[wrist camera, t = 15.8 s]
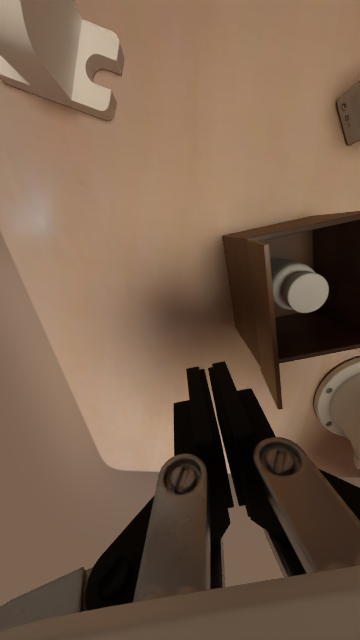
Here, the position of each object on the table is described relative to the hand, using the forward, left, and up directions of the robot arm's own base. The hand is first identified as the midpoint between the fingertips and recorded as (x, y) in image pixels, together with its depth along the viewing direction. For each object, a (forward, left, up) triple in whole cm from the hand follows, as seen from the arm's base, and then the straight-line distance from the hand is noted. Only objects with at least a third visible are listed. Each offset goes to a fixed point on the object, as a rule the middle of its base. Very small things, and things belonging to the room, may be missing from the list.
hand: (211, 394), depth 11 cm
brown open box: (0, -10, -19) cm, 22 cm away
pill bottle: (0, -10, -19) cm, 21 cm away
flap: (0, -5, -7) cm, 8 cm away
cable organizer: (+22, +7, -19) cm, 30 cm away
